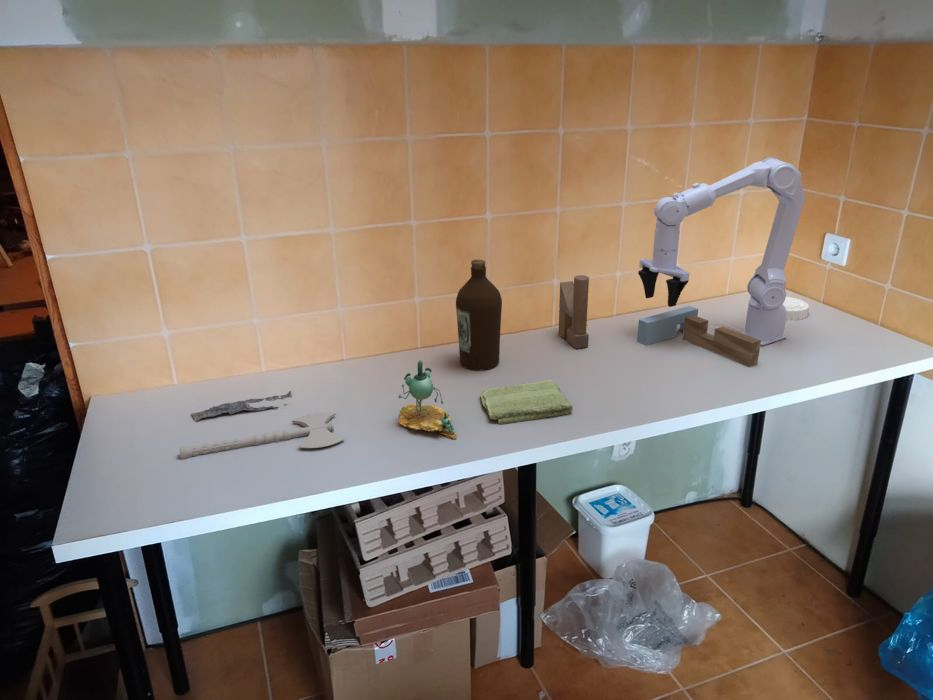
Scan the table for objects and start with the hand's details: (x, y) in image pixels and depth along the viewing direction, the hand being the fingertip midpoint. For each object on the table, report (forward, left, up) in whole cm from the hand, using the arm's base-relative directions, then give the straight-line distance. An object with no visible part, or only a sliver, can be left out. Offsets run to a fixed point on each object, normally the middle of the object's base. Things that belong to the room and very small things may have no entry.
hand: (660, 301), depth 176 cm
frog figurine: (+70, +6, -10) cm, 72 cm away
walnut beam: (-7, +14, -10) cm, 18 cm away
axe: (+100, -5, -11) cm, 101 cm away
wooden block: (+18, -11, -10) cm, 24 cm away
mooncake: (-43, +6, -10) cm, 44 cm away
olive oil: (+45, -13, -10) cm, 48 cm away
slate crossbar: (-4, 0, -10) cm, 11 cm away
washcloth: (+49, +11, -11) cm, 52 cm away
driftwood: (+99, -21, -11) cm, 102 cm away
